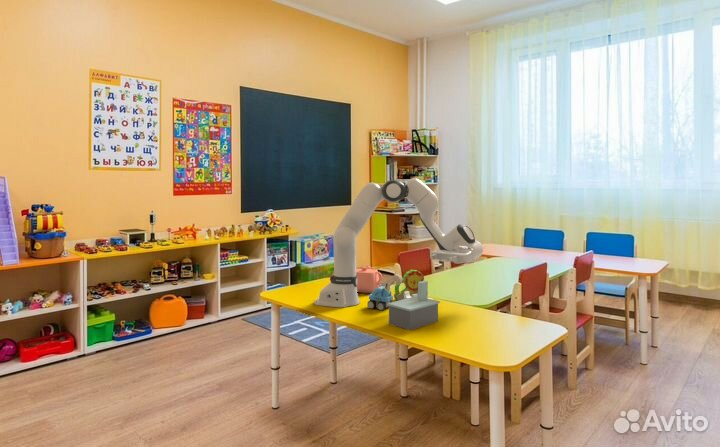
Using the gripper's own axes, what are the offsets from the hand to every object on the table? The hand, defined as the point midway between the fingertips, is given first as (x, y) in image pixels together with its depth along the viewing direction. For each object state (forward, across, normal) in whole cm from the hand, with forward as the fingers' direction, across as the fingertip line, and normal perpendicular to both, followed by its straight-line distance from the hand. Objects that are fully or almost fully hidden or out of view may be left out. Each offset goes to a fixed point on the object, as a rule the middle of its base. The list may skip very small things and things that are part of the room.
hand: (440, 258), depth 204 cm
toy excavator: (+13, -24, +25) cm, 37 cm away
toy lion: (-9, -29, +26) cm, 40 cm away
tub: (+19, 0, +25) cm, 31 cm away
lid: (+19, 0, +17) cm, 25 cm away
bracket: (-2, -16, +26) cm, 30 cm away
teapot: (-7, -60, +25) cm, 65 cm away
